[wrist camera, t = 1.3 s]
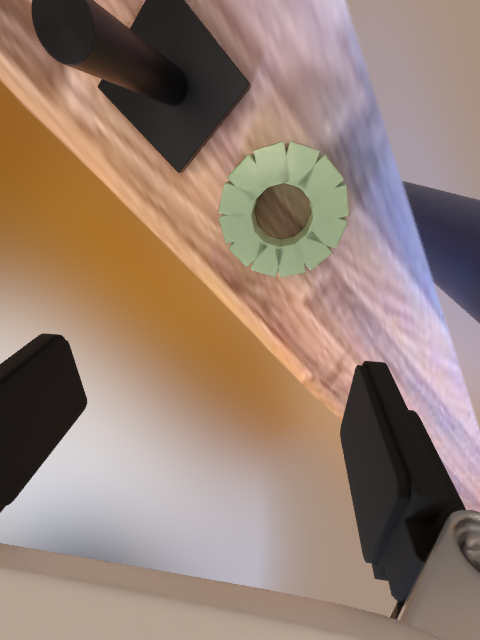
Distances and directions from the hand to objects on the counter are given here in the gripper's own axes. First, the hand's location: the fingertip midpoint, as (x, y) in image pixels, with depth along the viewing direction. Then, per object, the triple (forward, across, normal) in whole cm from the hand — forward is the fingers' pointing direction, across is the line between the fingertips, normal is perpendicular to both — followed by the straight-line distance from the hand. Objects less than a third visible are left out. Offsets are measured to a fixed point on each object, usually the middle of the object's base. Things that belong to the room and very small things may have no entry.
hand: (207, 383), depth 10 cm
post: (+20, +6, -11) cm, 23 cm away
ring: (+20, -2, -2) cm, 20 cm away
